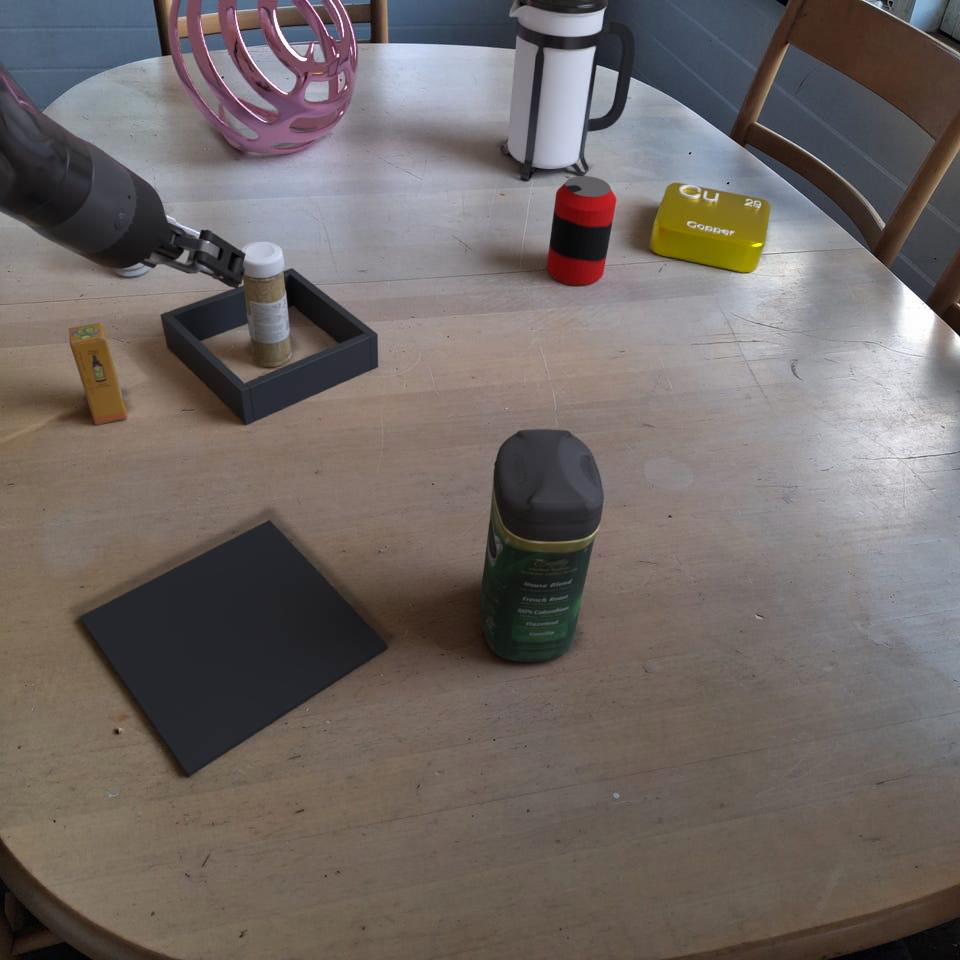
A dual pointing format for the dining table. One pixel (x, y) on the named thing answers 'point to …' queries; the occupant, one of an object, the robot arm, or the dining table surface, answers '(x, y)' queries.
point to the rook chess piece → (133, 271)
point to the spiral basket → (288, 104)
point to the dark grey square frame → (286, 382)
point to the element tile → (711, 227)
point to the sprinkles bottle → (266, 304)
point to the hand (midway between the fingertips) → (195, 266)
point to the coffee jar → (539, 543)
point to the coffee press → (560, 81)
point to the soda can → (581, 230)
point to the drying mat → (230, 643)
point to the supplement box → (97, 373)
